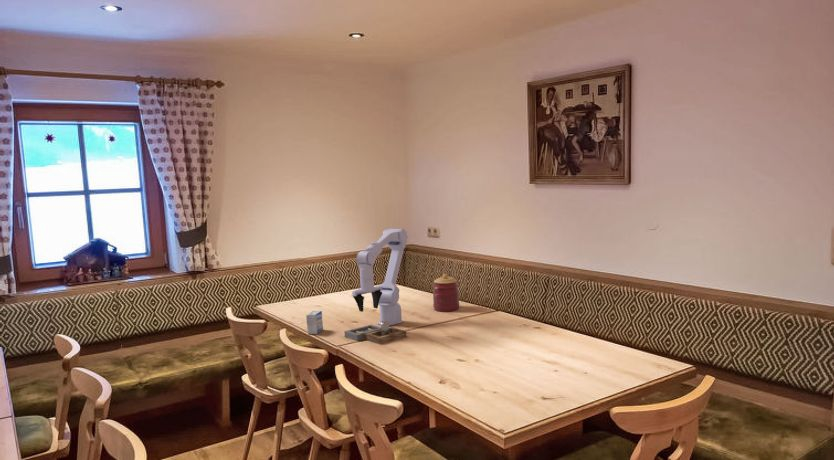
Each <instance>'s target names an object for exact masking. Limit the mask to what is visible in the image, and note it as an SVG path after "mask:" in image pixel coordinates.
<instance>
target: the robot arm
mask: <svg viewBox="0 0 834 460" xmlns="http://www.w3.org/2000/svg"><path fill="white" fill-rule="evenodd" d="M407 232H408V231H406V229H405V228H389V227H388V228H385V229H384V230H383V231H382V236H380V238H379V239H378V240H377V241H372V242H370V244H369V245H368V246H367V247H366V248H365V249H364V250H361V251H359V252H358V253H357V254H356V258H355V260H356V263H357V266H358V267H357V268H358V269H359V279H360V280H359V281H360V283H359V284H360V288H359V289H356V290H353V291H351V295H352V298H353V299H354V300H355V303H356V305H357V307H358V311H359V312H364V301H365V296H363V295H365V294H371V297H372V304H373V308H374V309H378V308H379V316H380V317H379V318H380V320H379V321H377V322H376V324H377V325H380V326H381V322H382V321H389V327H390V326H394V325H398V324H401V323H403V322H404V321H403V319H402V318H403V317H402V307H401V304H400V303H398V302H399V299H400V288H399V287H398V286H397V284H396V283H397V279H398V276H399V275H398V274H399V272H400V271H399V270H400V268H401V267H400V266H401V264H402V263H401V262H402V258H403V254H404V249H405V248H406V245H407V240H408V238H409V237H408V236H409V235H408V233H407ZM385 246H387V247H388V249H391V252H390V253H391V254H390V257H389V261H388V265H387V270H386V273H385V278H384V281H383V282H382V283H381V284H379V285H377V286H375V284H374V282H375V281H374V264H375V263H376V259H377V257H378V256H379V255H380V254H381V253H382V252H383V248H384V247H385Z"/></svg>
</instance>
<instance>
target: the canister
mask: <svg viewBox="0 0 834 460" xmlns="http://www.w3.org/2000/svg"><path fill="white" fill-rule="evenodd" d="M457 281H458V280H457V279H456V278H454V277H451V276H448V274H447V273H443V274H442V276H441V277H437V278H436V279H435V280H434V281H433V282H434V284H432V288H433V291H432V300H433V303H432V306H433V310H434V311H437V312H440V313H441V312H442V313H443V312H444V313H445V312H446V313H447V312H448V313H449V312H455V311H458V310H459V309H460V306H461V305H460V297H459V295H460V291H459V289H458V287H459V285H460V284H459V283H457Z"/></svg>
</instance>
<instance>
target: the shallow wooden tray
mask: <svg viewBox="0 0 834 460" xmlns="http://www.w3.org/2000/svg"><path fill="white" fill-rule="evenodd" d="M389 329H390V334H388V335H384V336H381V330H378V331H374V332H370V333H367V334H365V339H364V340H366V341H369V342H371V343H375V344H377V345H381V344H384V343H389V342H391V341H392V342H393V341H396V340H398V339H399V340H400V339H402V338H407V330H404V329H401V328H397V327H393V326H391V327H390V326H389Z"/></svg>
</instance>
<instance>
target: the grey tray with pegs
mask: <svg viewBox="0 0 834 460" xmlns="http://www.w3.org/2000/svg"><path fill="white" fill-rule="evenodd" d="M378 330H381V326H379V325H378V326H377V325H374V324H367V325H363V326H360V327H356V328H352V329H348V330H347V329H346V330H345V331H344V337H345V338H348V339H351V340H354V341H357V342H358V341H362V340H365V334H367V333H370V332H374V331H378Z"/></svg>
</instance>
